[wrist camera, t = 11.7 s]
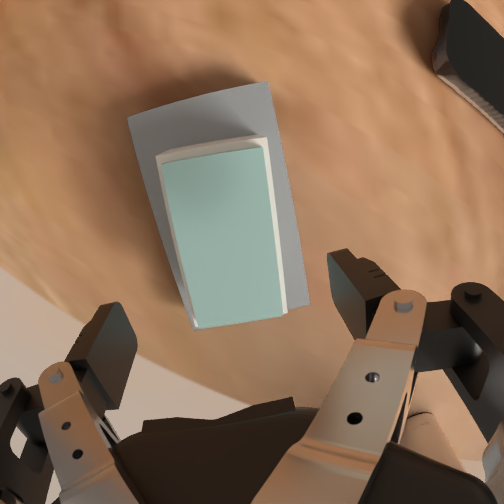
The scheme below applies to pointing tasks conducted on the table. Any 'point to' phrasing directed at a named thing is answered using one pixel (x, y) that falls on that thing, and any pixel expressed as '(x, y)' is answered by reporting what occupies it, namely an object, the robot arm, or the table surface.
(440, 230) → the table surface
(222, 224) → the block
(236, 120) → the stand
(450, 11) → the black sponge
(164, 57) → the table surface
